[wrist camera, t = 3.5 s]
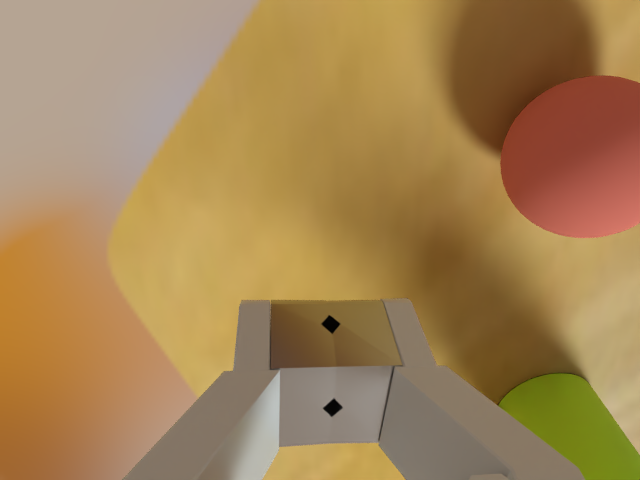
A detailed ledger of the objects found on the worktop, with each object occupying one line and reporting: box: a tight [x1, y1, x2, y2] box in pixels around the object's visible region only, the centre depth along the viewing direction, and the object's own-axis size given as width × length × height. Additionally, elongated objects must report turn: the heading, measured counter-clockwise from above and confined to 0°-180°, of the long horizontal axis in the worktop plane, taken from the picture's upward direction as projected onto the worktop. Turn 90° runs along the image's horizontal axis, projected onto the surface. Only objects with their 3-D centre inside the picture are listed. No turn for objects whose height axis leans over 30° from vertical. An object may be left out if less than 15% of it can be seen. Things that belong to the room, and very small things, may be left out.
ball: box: [500, 76, 640, 238], centre depth 16 cm, size 6×6×6 cm
